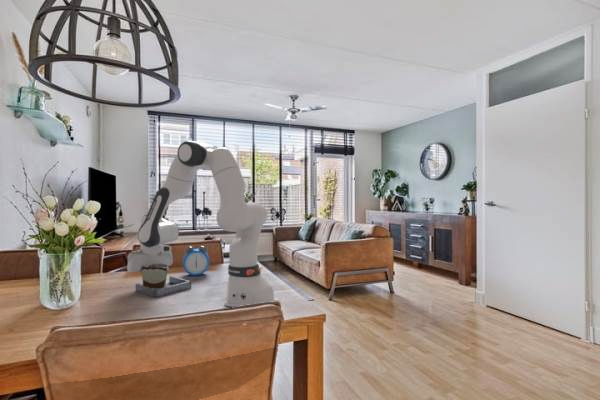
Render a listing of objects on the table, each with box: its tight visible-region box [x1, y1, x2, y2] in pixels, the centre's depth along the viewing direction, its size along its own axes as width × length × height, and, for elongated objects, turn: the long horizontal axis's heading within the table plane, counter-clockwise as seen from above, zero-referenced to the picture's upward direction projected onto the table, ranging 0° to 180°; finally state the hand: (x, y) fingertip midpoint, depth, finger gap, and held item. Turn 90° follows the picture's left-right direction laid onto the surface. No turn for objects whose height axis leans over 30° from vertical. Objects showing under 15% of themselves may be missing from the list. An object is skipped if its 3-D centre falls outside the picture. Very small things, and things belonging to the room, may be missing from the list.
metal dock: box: [135, 275, 192, 299], centre depth 141 cm, size 16×17×3 cm
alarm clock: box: [182, 245, 210, 277], centre depth 166 cm, size 13×6×15 cm, turn 108°
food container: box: [141, 264, 170, 289], centre depth 144 cm, size 12×6×10 cm, turn 89°
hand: (150, 278), depth 147 cm, fingers closed
